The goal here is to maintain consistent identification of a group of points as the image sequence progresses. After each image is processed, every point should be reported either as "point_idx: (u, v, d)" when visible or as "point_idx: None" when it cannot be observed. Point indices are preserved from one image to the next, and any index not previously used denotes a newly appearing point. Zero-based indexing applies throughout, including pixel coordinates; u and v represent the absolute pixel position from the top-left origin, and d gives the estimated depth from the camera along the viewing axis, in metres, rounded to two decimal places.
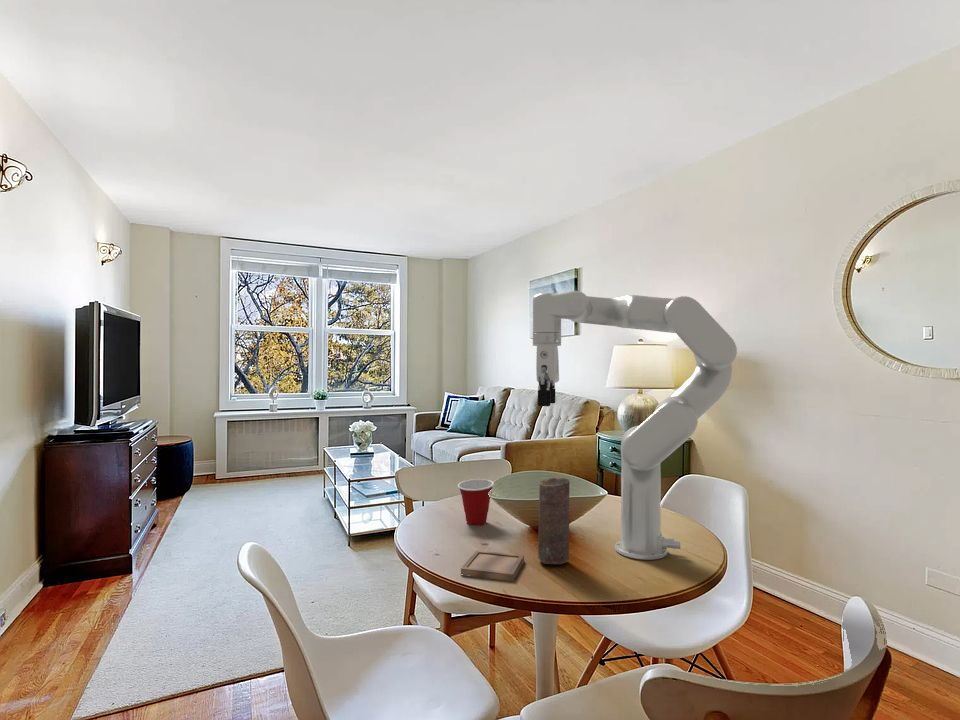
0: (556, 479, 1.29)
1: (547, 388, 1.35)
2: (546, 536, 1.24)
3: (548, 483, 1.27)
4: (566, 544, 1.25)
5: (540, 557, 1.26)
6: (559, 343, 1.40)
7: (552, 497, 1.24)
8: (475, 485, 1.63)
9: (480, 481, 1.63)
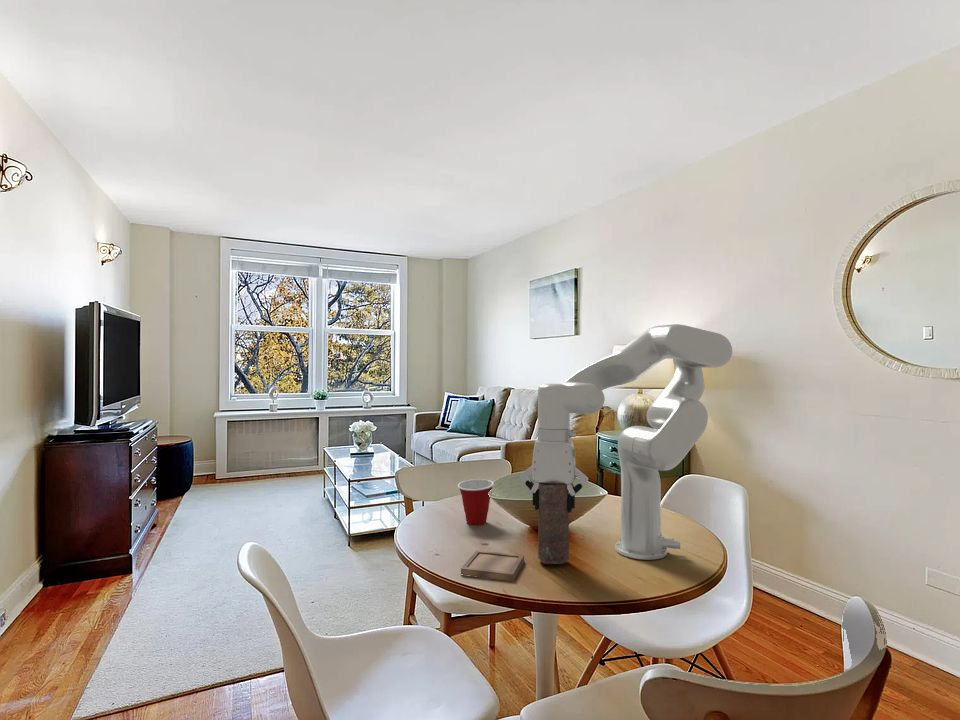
0: None
1: None
2: (546, 536, 1.24)
3: None
4: (566, 544, 1.25)
5: (540, 557, 1.26)
6: None
7: (552, 496, 1.24)
8: (475, 485, 1.63)
9: (480, 481, 1.63)
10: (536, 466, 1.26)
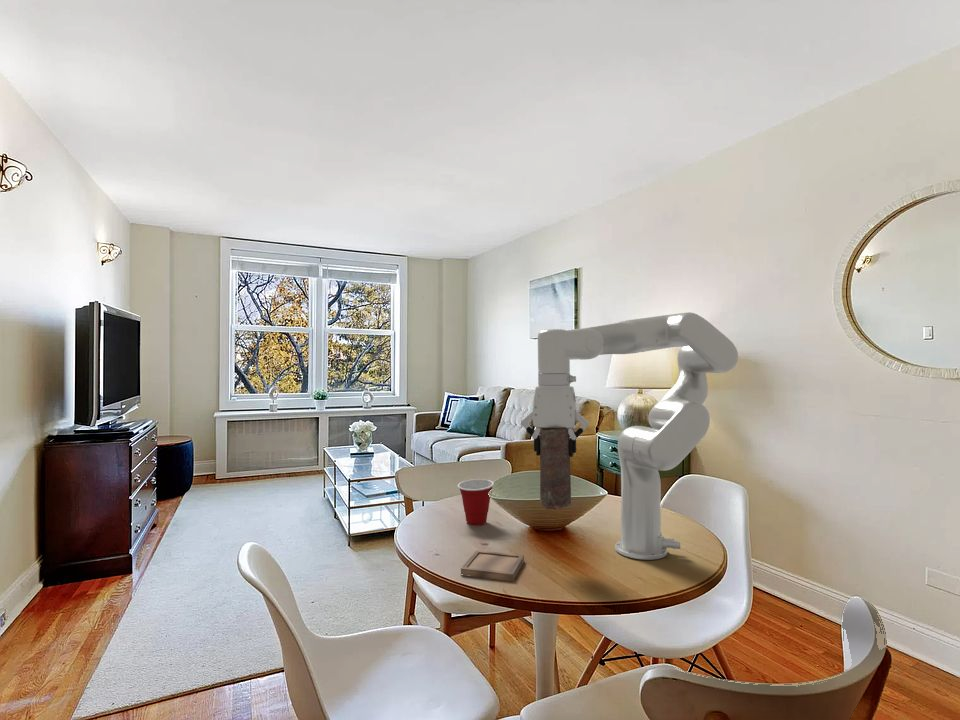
0: None
1: None
2: (548, 480, 1.24)
3: None
4: (568, 488, 1.25)
5: (542, 502, 1.26)
6: None
7: (553, 441, 1.24)
8: (475, 485, 1.63)
9: (480, 481, 1.63)
10: (537, 411, 1.26)
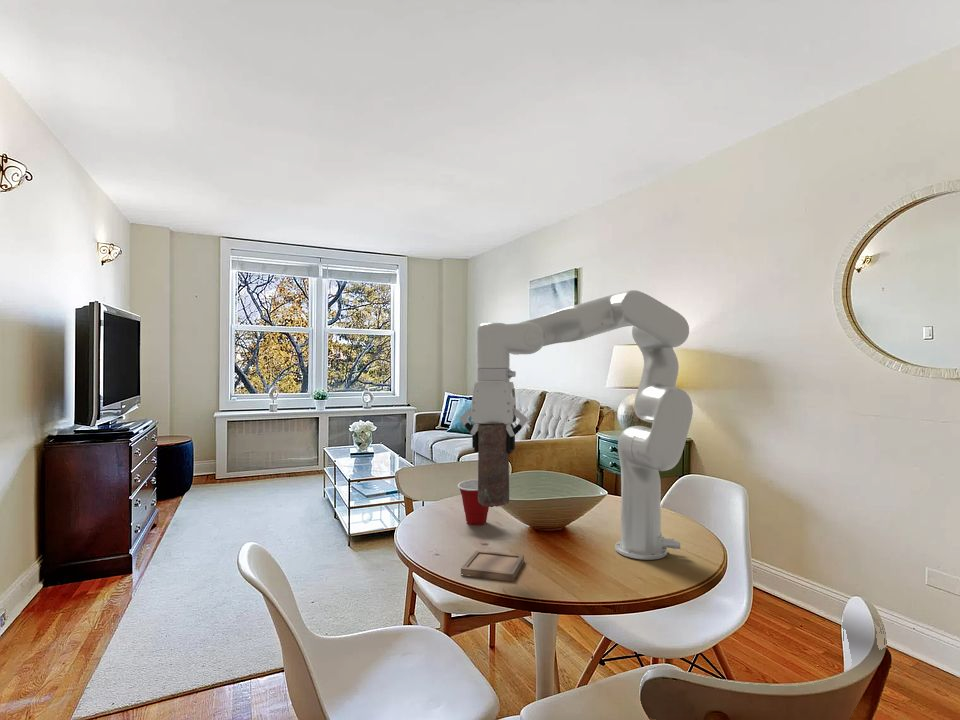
0: None
1: None
2: (484, 477, 1.21)
3: None
4: (505, 485, 1.22)
5: (479, 500, 1.23)
6: None
7: (490, 436, 1.21)
8: (475, 485, 1.63)
9: None
10: (475, 406, 1.23)
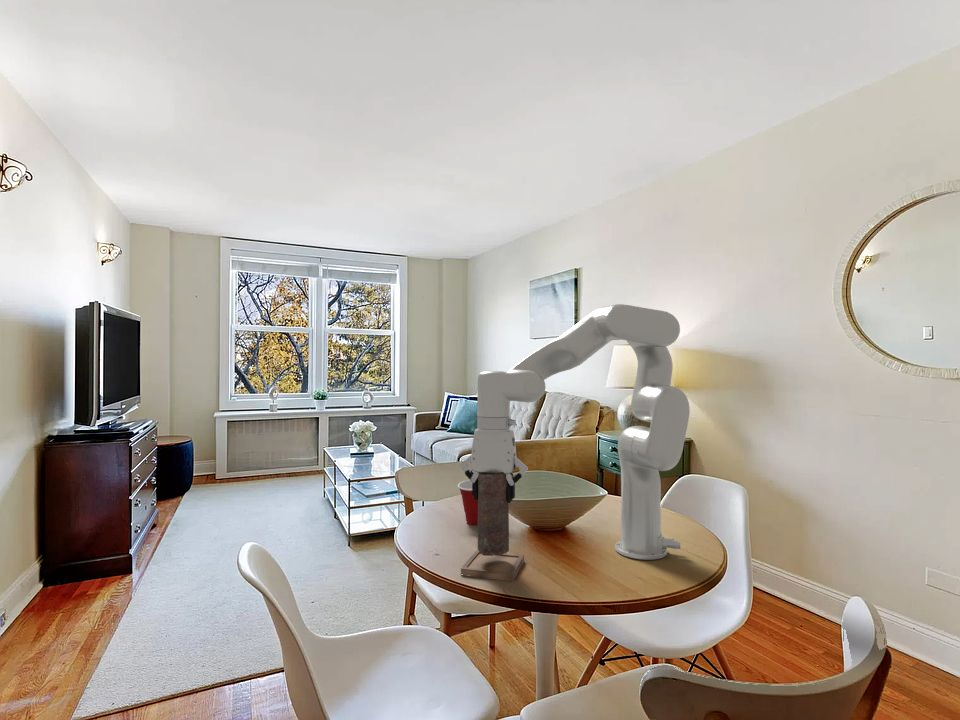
0: None
1: None
2: (484, 527, 1.21)
3: None
4: (505, 535, 1.22)
5: (479, 548, 1.23)
6: None
7: (490, 486, 1.21)
8: None
9: None
10: (475, 455, 1.23)
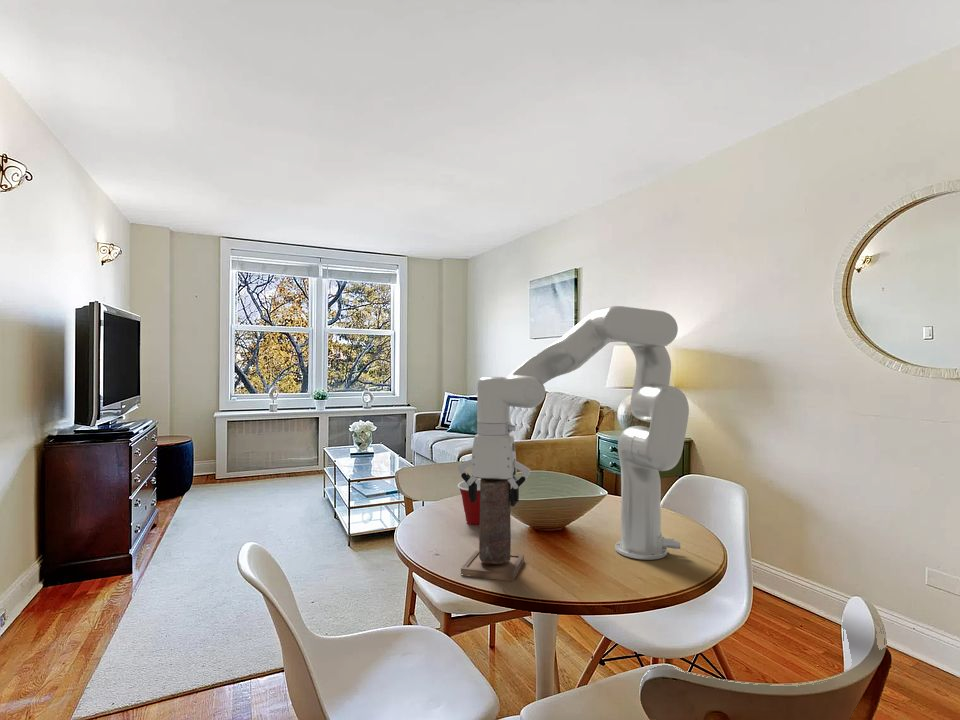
0: None
1: None
2: (486, 535, 1.21)
3: (489, 481, 1.24)
4: (506, 543, 1.22)
5: (480, 557, 1.23)
6: None
7: (492, 495, 1.21)
8: None
9: None
10: (475, 460, 1.23)
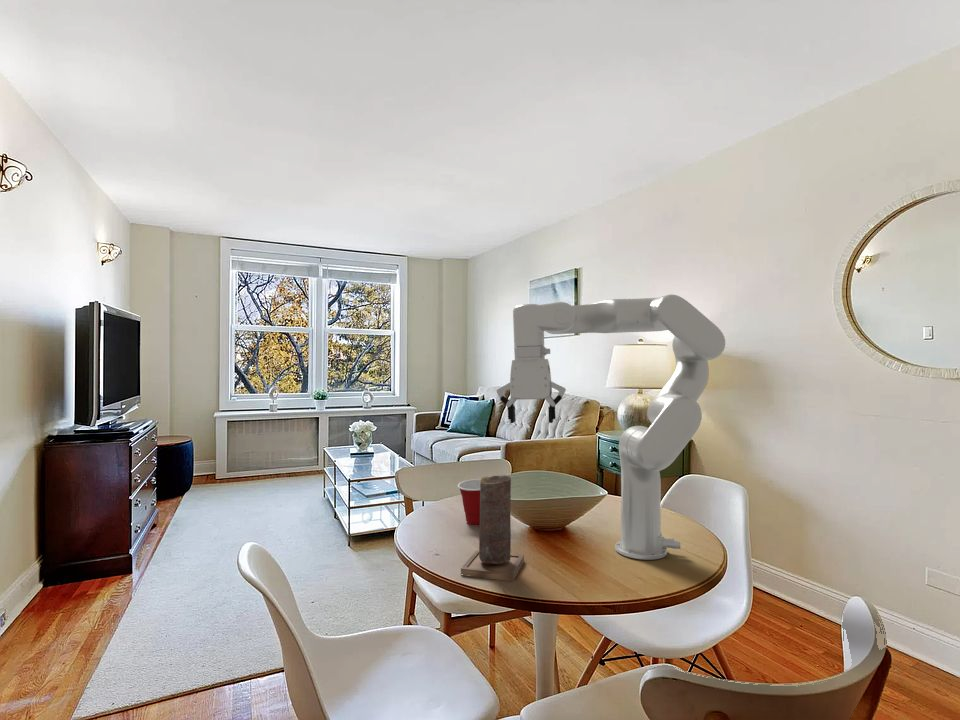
0: (498, 477, 1.26)
1: None
2: (486, 535, 1.21)
3: (489, 481, 1.24)
4: (506, 543, 1.22)
5: (480, 557, 1.23)
6: None
7: (492, 495, 1.21)
8: (475, 485, 1.63)
9: None
10: (514, 383, 1.32)
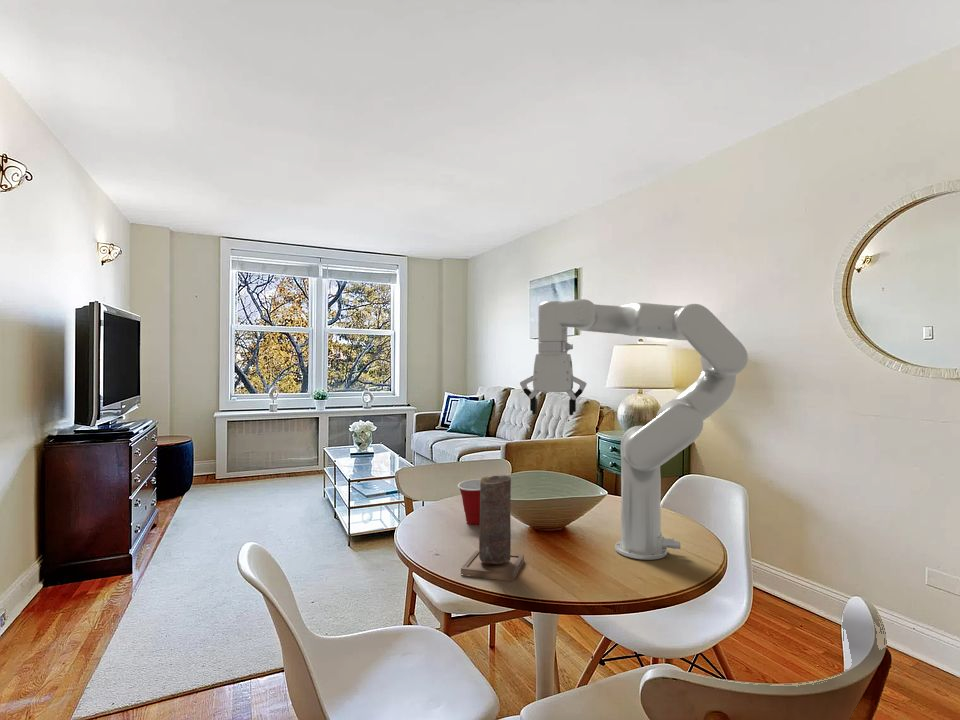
0: (498, 477, 1.26)
1: None
2: (486, 535, 1.21)
3: (489, 481, 1.24)
4: (506, 543, 1.22)
5: (480, 557, 1.23)
6: None
7: (492, 495, 1.21)
8: (475, 485, 1.63)
9: None
10: (537, 376, 1.38)
